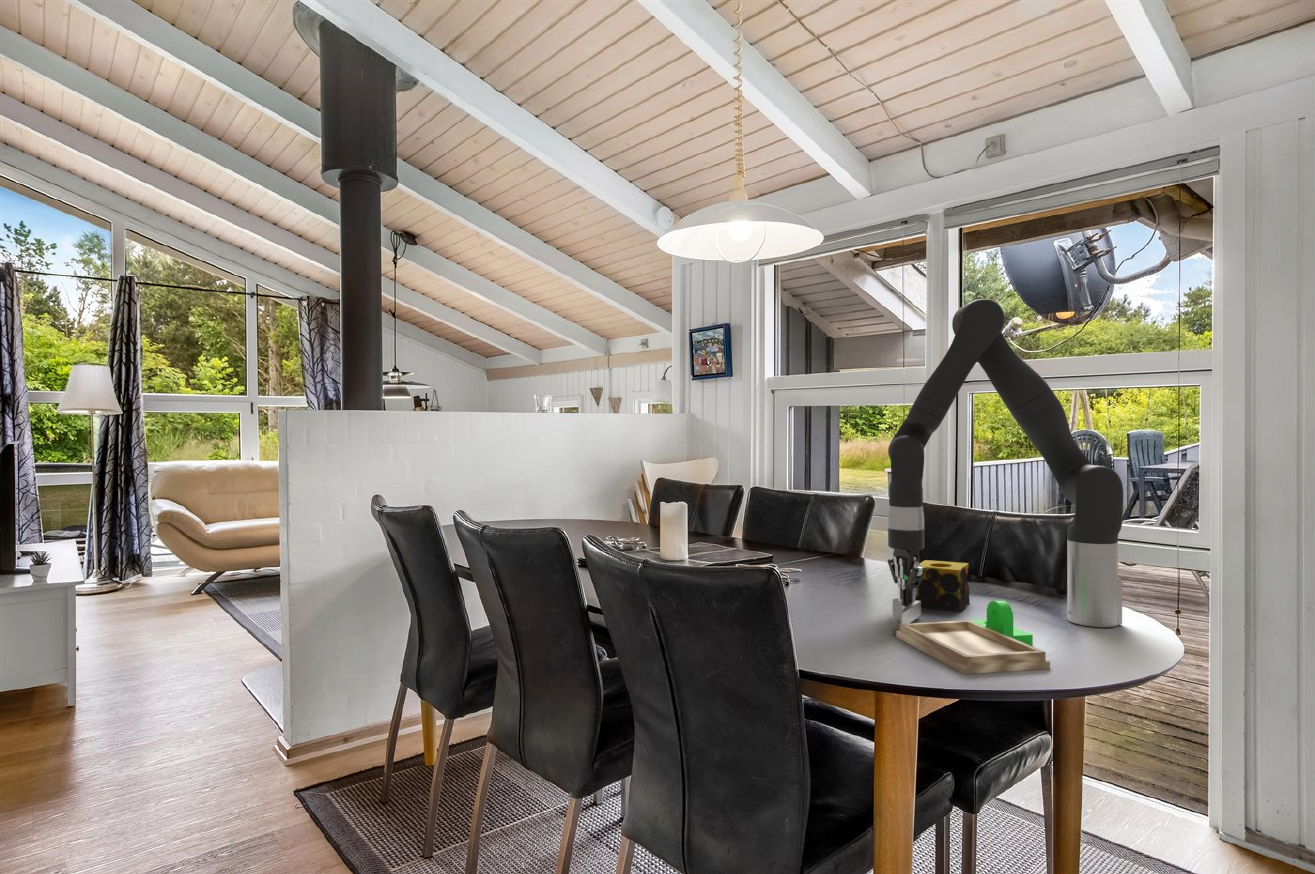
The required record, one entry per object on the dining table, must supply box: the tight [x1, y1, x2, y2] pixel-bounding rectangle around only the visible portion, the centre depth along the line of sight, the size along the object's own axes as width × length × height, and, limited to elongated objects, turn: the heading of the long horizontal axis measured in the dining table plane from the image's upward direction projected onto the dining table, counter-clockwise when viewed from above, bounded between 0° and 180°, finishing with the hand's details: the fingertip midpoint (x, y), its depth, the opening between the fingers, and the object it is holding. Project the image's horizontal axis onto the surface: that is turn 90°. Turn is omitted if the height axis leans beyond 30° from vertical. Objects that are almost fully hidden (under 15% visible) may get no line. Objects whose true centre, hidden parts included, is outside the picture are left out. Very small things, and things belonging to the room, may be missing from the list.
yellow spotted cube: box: [914, 559, 971, 613], centre depth 171 cm, size 10×10×10 cm
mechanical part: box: [970, 600, 1034, 645], centre depth 147 cm, size 12×6×8 cm, turn 9°
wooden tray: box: [895, 619, 1051, 675], centre depth 136 cm, size 16×23×3 cm
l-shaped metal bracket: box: [892, 598, 922, 637], centre depth 154 cm, size 16×2×7 cm, turn 145°
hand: (906, 605), depth 162 cm, fingers closed
